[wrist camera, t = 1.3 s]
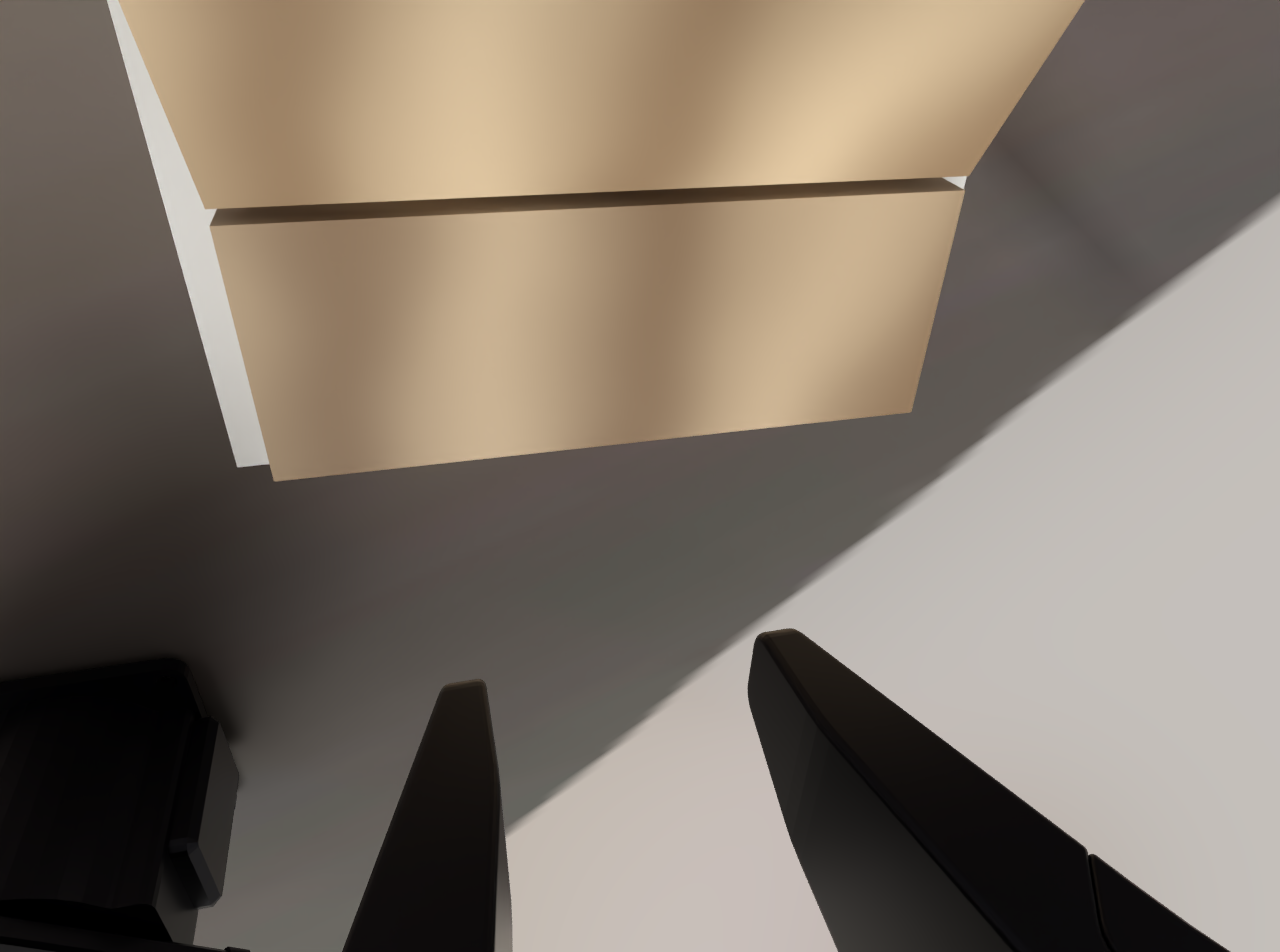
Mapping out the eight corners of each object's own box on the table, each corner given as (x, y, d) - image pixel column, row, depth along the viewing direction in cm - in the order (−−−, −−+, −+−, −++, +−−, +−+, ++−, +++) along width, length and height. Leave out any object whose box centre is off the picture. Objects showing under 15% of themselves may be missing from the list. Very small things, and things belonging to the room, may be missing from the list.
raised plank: (205, 145, 16) (205, 209, 15) (57, -240, 10) (49, -165, 10) (944, 123, 19) (969, 175, 18) (1120, -177, 14) (1162, -118, 13)
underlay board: (242, 444, 21) (237, 467, 20) (20, -376, 13) (-3, -392, 12) (895, 378, 24) (912, 396, 23) (1045, -284, 16) (1080, -292, 15)
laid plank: (279, 444, 20) (273, 481, 18) (220, 199, 17) (209, 226, 15) (883, 383, 23) (911, 411, 22) (929, 170, 20) (965, 190, 19)
